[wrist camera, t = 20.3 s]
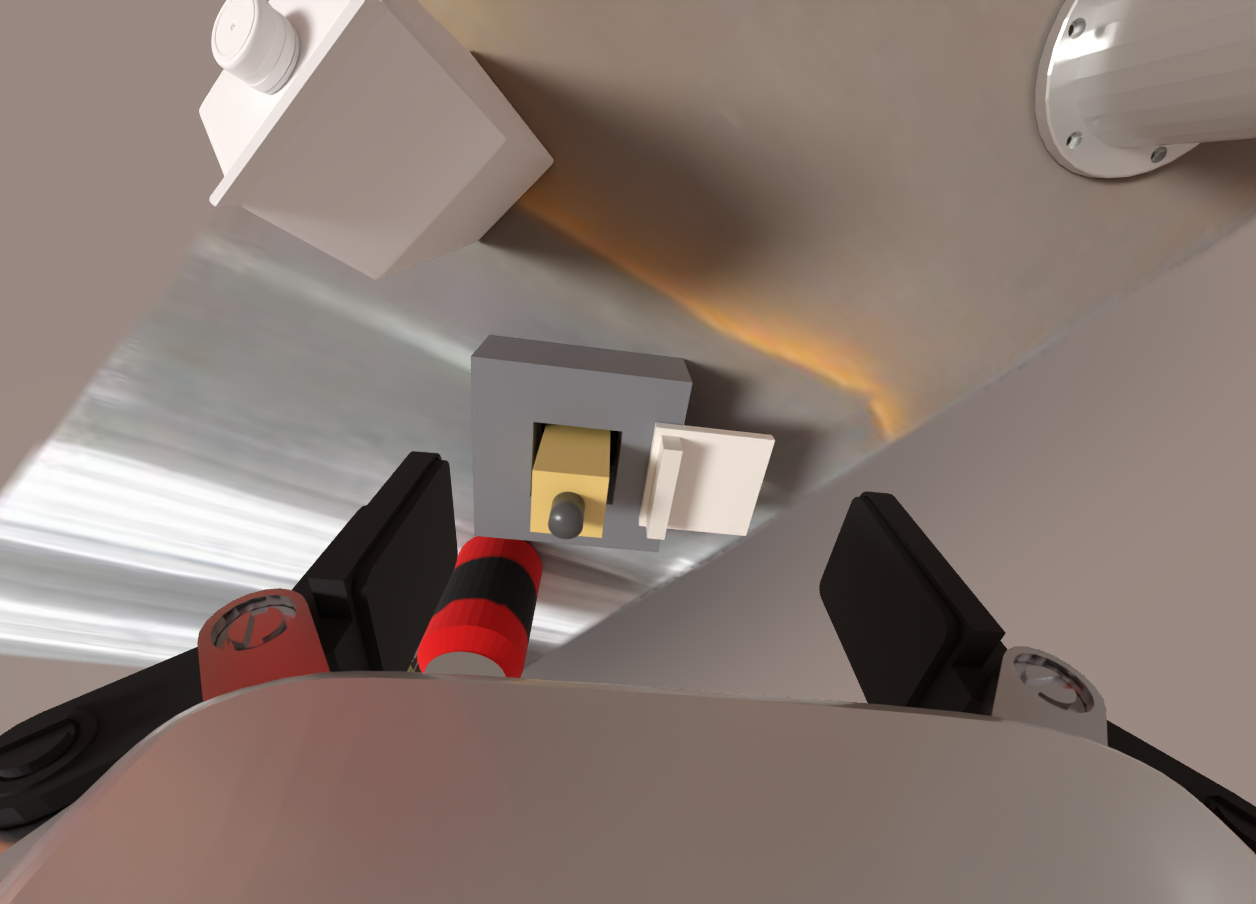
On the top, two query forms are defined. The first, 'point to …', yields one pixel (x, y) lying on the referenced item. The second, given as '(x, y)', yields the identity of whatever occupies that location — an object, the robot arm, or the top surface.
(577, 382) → the socket housing
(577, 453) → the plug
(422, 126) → the milk carton
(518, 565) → the soda can
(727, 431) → the plate
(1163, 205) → the top surface
